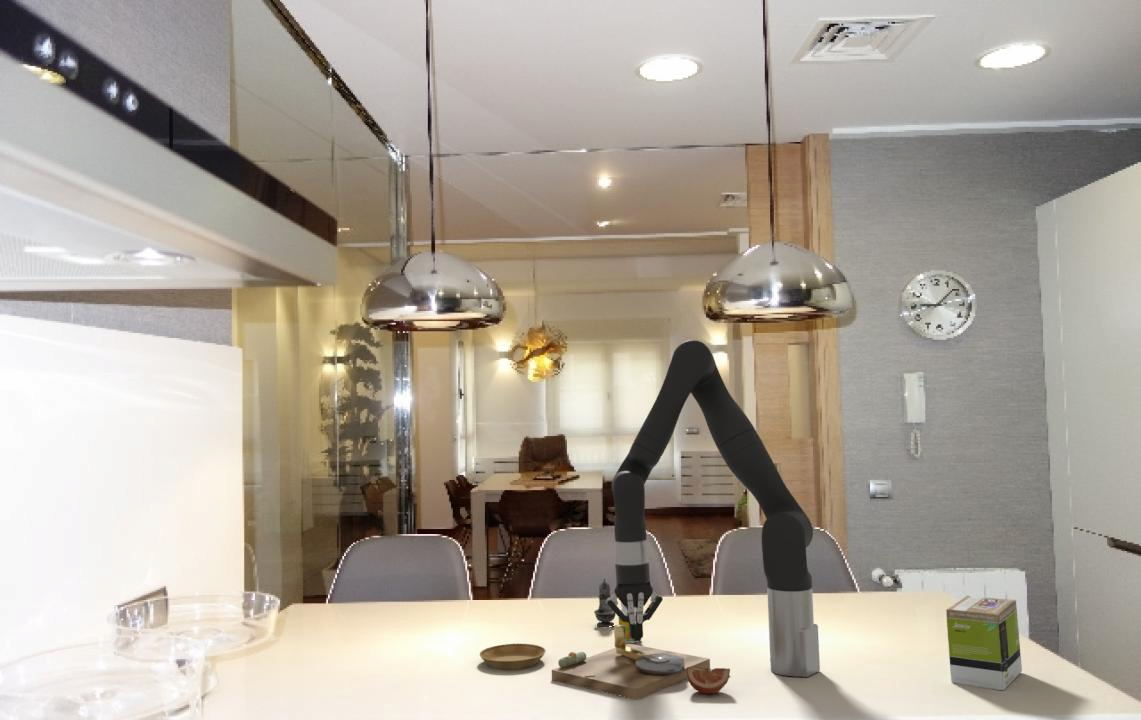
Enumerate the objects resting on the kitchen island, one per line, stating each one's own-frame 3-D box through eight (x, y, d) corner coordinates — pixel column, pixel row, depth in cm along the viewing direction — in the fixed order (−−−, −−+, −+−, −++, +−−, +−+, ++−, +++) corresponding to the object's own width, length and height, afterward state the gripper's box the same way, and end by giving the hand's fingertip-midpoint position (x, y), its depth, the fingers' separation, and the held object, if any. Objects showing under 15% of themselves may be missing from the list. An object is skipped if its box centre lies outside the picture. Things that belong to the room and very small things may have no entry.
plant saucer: (486, 676, 188) (485, 663, 188) (474, 658, 202) (474, 646, 202) (553, 669, 191) (552, 656, 192) (537, 652, 206) (537, 640, 206)
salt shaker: (617, 622, 232) (616, 576, 233) (616, 628, 226) (615, 580, 227) (595, 622, 232) (593, 576, 233) (593, 628, 226) (592, 580, 227)
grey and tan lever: (694, 668, 180) (693, 639, 180) (656, 677, 174) (655, 647, 175) (635, 648, 197) (634, 621, 197) (598, 656, 191) (597, 628, 192)
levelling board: (710, 668, 188) (709, 646, 188) (636, 699, 168) (635, 675, 168) (628, 652, 202) (627, 632, 202) (551, 679, 183) (551, 657, 183)
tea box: (970, 665, 185) (966, 593, 186) (1023, 673, 178) (1018, 599, 179) (949, 683, 173) (945, 607, 174) (1004, 692, 167) (999, 613, 168)
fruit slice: (730, 689, 173) (729, 663, 174) (731, 699, 167) (730, 673, 167) (688, 687, 175) (687, 662, 175) (686, 698, 168) (685, 672, 169)
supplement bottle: (615, 642, 211) (614, 601, 212) (624, 637, 216) (623, 597, 217) (636, 644, 209) (634, 603, 209) (644, 639, 214) (643, 598, 214)
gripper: (658, 556, 200) (662, 634, 198) (600, 560, 198) (604, 638, 197) (664, 561, 192) (669, 642, 191) (604, 565, 191) (609, 646, 190)
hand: (636, 640), depth 194 cm, fingers closed
